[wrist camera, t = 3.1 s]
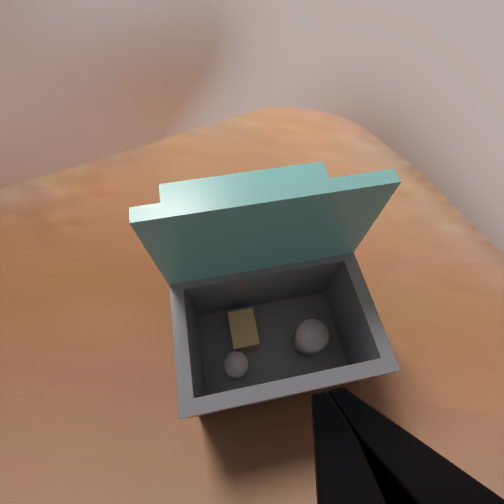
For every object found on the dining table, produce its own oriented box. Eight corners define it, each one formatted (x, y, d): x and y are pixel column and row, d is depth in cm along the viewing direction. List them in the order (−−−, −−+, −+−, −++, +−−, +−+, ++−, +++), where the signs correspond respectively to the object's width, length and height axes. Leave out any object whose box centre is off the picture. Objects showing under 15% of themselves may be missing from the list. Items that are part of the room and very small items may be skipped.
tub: (359, 380, 17) (400, 370, 12) (198, 416, 16) (179, 419, 11) (305, 219, 22) (320, 170, 17) (181, 239, 21) (162, 192, 16)
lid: (353, 253, 15) (400, 182, 10) (169, 285, 14) (129, 223, 9) (320, 170, 17) (346, 82, 13) (162, 192, 16) (129, 107, 12)
